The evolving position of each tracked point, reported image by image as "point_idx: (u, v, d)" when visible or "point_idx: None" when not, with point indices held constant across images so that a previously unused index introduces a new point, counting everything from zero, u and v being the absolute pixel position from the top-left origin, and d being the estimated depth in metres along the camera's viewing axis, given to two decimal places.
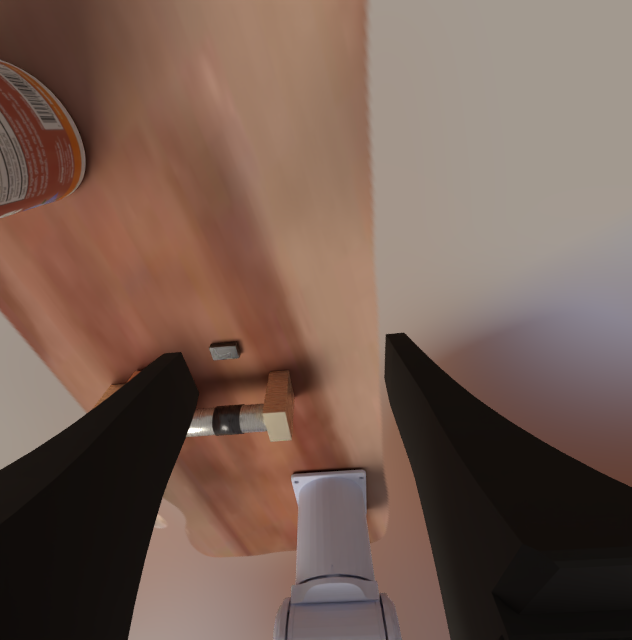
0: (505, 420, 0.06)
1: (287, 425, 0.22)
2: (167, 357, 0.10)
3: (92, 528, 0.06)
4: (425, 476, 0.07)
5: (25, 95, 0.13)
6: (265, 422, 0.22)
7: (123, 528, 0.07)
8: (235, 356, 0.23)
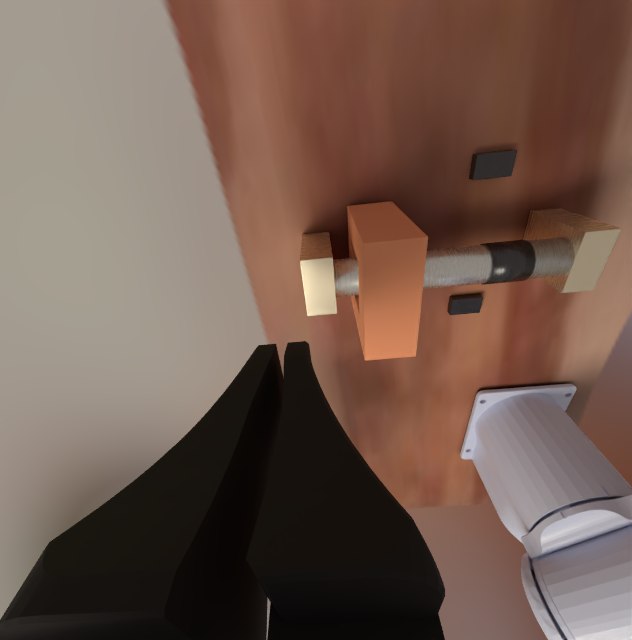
0: (338, 432, 0.06)
1: (606, 259, 0.15)
2: (265, 349, 0.10)
3: (245, 519, 0.06)
4: None
5: None
6: (576, 252, 0.15)
7: None
8: (508, 172, 0.16)
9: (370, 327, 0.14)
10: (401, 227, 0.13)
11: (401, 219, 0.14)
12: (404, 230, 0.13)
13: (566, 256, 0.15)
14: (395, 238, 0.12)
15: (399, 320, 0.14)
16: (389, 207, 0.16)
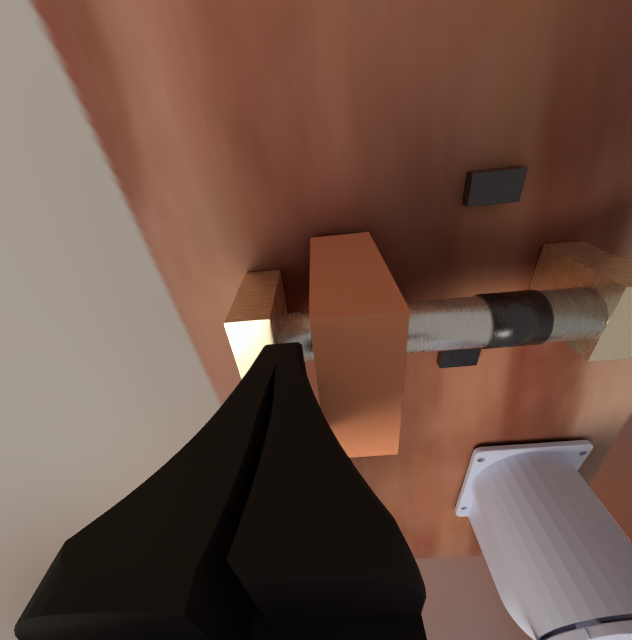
0: (327, 433, 0.06)
1: None
2: (272, 348, 0.10)
3: None
4: None
5: None
6: (611, 312, 0.10)
7: None
8: (514, 196, 0.12)
9: (330, 422, 0.10)
10: (373, 285, 0.09)
11: (375, 266, 0.10)
12: (376, 292, 0.08)
13: (596, 316, 0.11)
14: (359, 310, 0.08)
15: (372, 414, 0.09)
16: (363, 243, 0.12)
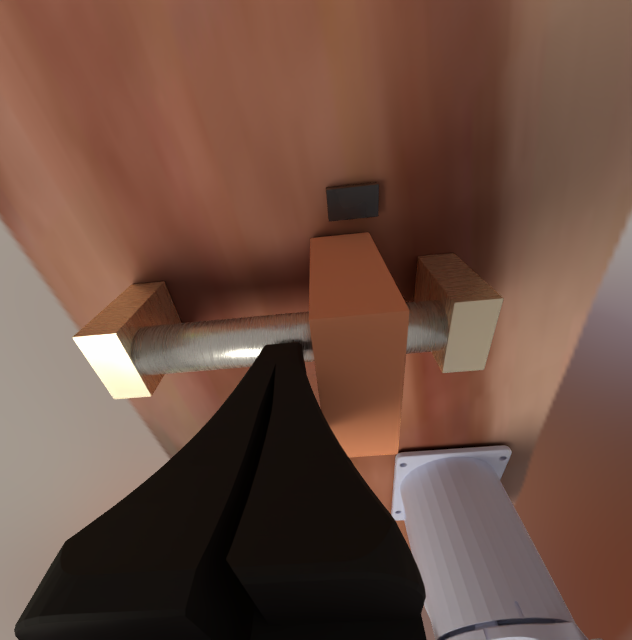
0: (326, 433, 0.06)
1: (491, 334, 0.11)
2: (272, 348, 0.10)
3: None
4: None
5: None
6: (450, 326, 0.11)
7: None
8: (372, 211, 0.12)
9: (331, 422, 0.10)
10: (372, 285, 0.09)
11: (375, 267, 0.10)
12: (376, 292, 0.08)
13: (438, 330, 0.11)
14: (359, 310, 0.08)
15: (372, 414, 0.10)
16: (363, 243, 0.12)
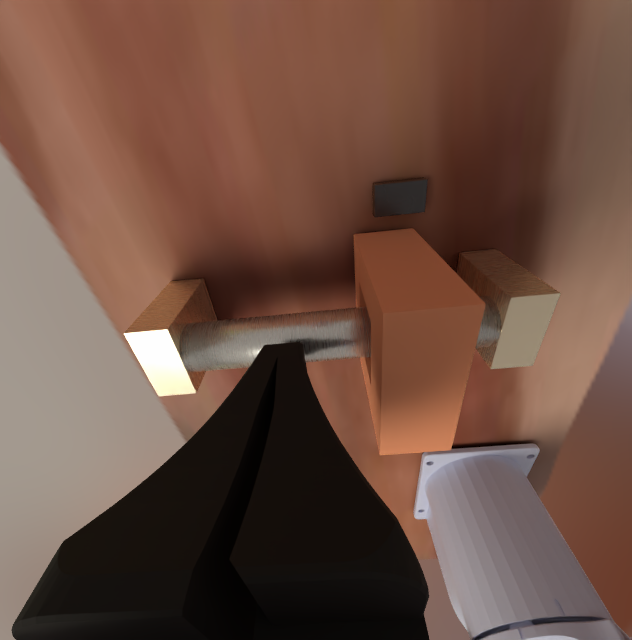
0: (328, 433, 0.06)
1: (544, 329, 0.11)
2: (271, 348, 0.10)
3: None
4: None
5: None
6: (503, 321, 0.11)
7: None
8: (419, 207, 0.12)
9: (389, 418, 0.10)
10: (437, 279, 0.09)
11: (433, 261, 0.10)
12: (443, 286, 0.08)
13: (490, 326, 0.11)
14: (433, 304, 0.08)
15: (432, 409, 0.09)
16: (411, 239, 0.12)
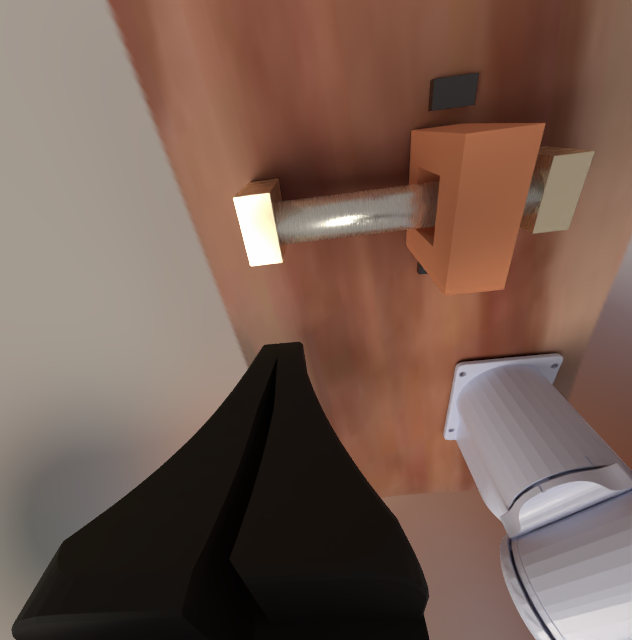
0: (328, 433, 0.06)
1: (580, 190, 0.13)
2: (271, 348, 0.10)
3: None
4: None
5: None
6: (546, 182, 0.13)
7: None
8: (470, 100, 0.14)
9: (457, 250, 0.12)
10: (500, 125, 0.11)
11: (491, 124, 0.12)
12: (507, 125, 0.11)
13: (534, 188, 0.13)
14: (503, 127, 0.10)
15: (493, 241, 0.12)
16: (465, 124, 0.14)
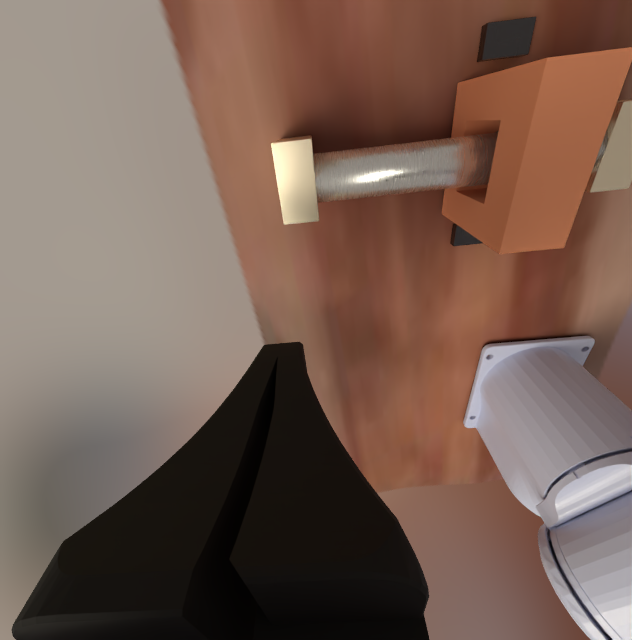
0: (328, 433, 0.06)
1: None
2: (271, 348, 0.10)
3: None
4: None
5: None
6: (610, 133, 0.12)
7: None
8: (524, 48, 0.13)
9: (519, 201, 0.11)
10: None
11: None
12: None
13: None
14: None
15: (559, 190, 0.11)
16: None
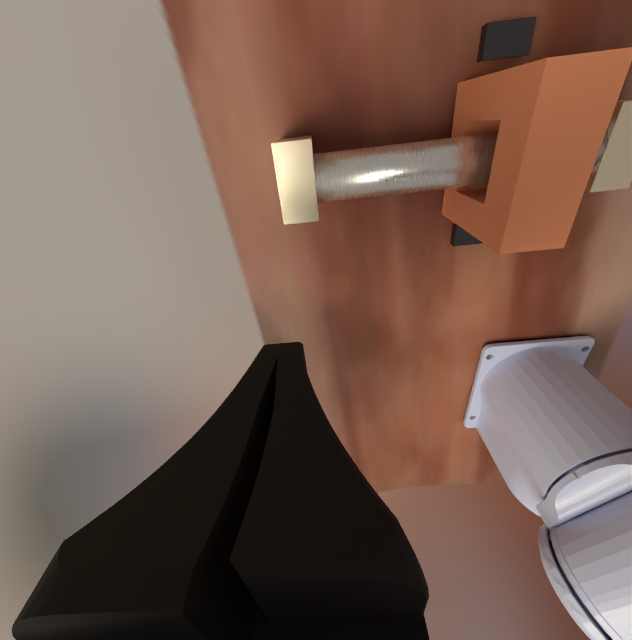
0: (328, 433, 0.06)
1: None
2: (271, 348, 0.10)
3: None
4: None
5: None
6: (610, 133, 0.12)
7: None
8: (524, 48, 0.13)
9: (519, 201, 0.11)
10: None
11: None
12: None
13: None
14: None
15: (559, 190, 0.11)
16: None
